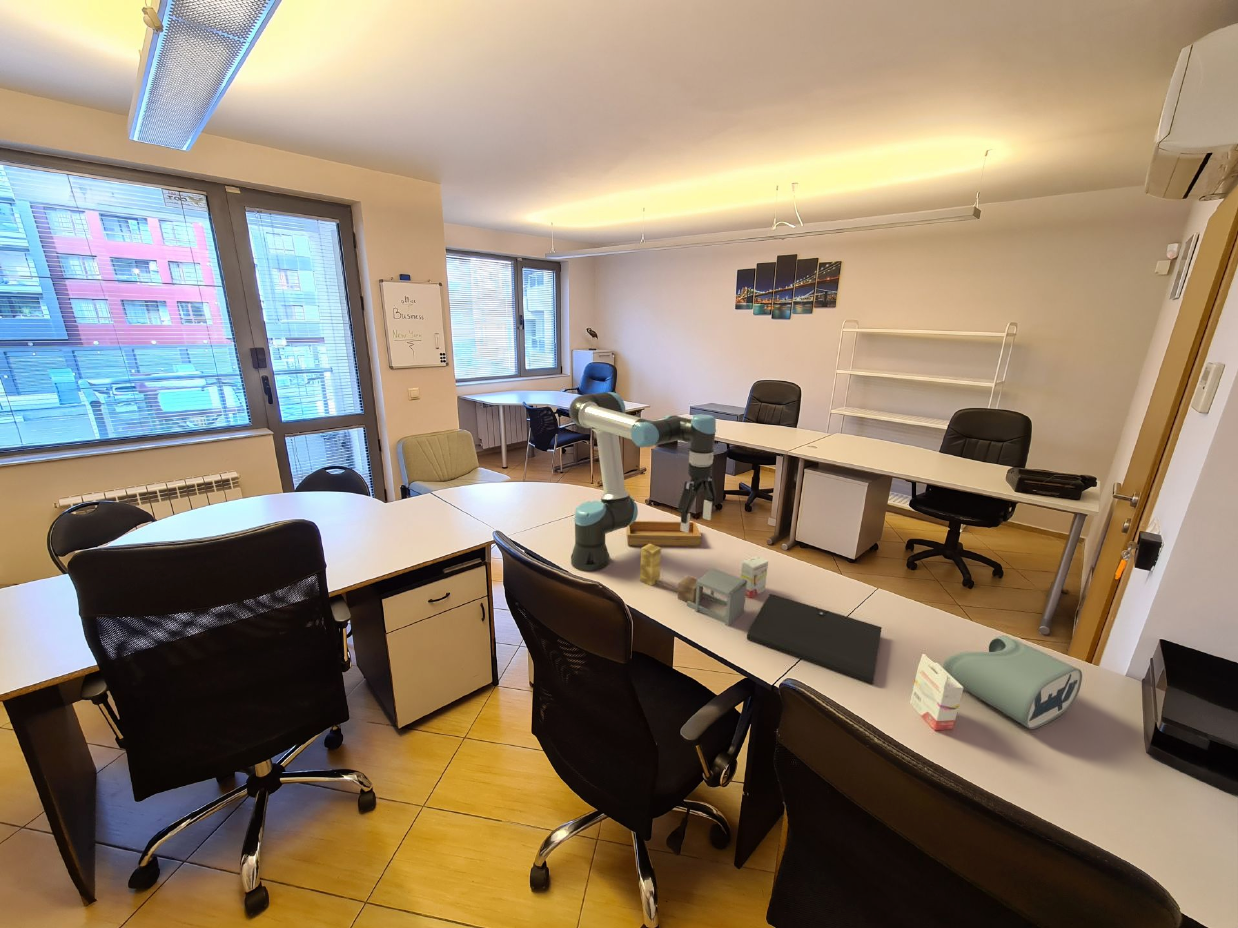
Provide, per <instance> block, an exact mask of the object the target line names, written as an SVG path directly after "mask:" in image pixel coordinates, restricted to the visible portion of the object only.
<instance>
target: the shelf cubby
mask: <svg viewBox="0 0 1238 928" xmlns="http://www.w3.org/2000/svg"><path fill="white" fill-rule="evenodd" d="M696 584H697V590H696V603H692V602H690V601H687V602H686V606H687V607H689V608H691V609H693V610H694V612H697V613H699V612H700V613H702V614H704V615H706V616H709V617H711V618H713V619H716V620H717V621H720V622H722V623H724V625H725V626H726V627H729V626H730V625H731V624H732V623H733V622H734V621H735V620H736V619H737V618H738V617H739V616H740V615H741V614H742V613H743V612H744V611H745V605H746V597H747V596H746V586H747V580H744V579H742V578H741V577H739V576H737V575H734V574H731V573H728V572H726V571H724V570H723V571H722V570H719V569H718V568H715V567H713V568H712V569H710V570H709V571H707V572H706V573H705V574H703V576H701V577H700V578H699V579H698V580H697V581H696ZM700 586H702V587H703V589H704V588H705V589H707V590H709V591H710V593H709V592H706V591H704V590H703V596H702V598H703V597H704V598H705V599H708V600H710V601H712V602H715V603H718V604H719V605H723V606H724V607H726V610H725V616H724V615H722V614H720V613H717V612H715V611H713V610H711V609H708V608H705V607H703V606H702V605H700V600H699V597H700ZM715 593H717V594H719V595H721V596H724V597H727V599H724V598H720V597H718V596H716V595H715Z"/></svg>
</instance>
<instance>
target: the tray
mask: <svg viewBox="0 0 1238 928" xmlns="http://www.w3.org/2000/svg"><path fill="white" fill-rule="evenodd" d="M680 529H681V521H669V520H668V521H666V520H665V521H662V520H660V521H659V520H658V521H656V520H650V521H649V520H635V521H634V523H633V524H631V525H629V526H627V527H626V539H627V546H628V547H629V546H636V547H638V546H640V547H641V546H642V547H644V546H646V545H648V544H652V545H655V546H658V547H696V548H698V547H699V548H701V543H702V535H701V532H700V530H699V527H698V525H697V523H696V522H695V521H690V522H689V532H688V533H686V532H683V531H681V530H680Z"/></svg>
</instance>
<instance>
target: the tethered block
mask: <svg viewBox="0 0 1238 928" xmlns="http://www.w3.org/2000/svg"><path fill="white" fill-rule="evenodd" d="M661 552H662V548H661V546H655V545H652V544H648V545H646V546H642V547H641V549H640V573H639V575H640V579H639V581H640V582H642V583H643V584H646V585H649V586H653V585H655V584H656V583H657V584H659V585H662V586H664V587H666V588H669V589H671V590H673V591H676V592H677V599H678V600H681V601H682V602H685V603H687V601H690V602H692V603H695V604H696V590H697V584H696V581H697V580H698V579H697V578H695V577H692V576H690V575H687V576H686V577H684V578H683V579H682V580H680V581H679V582H678V585H677V586H678V588H676V587H673V586H671V585H669V584H667V583H664V582H663V581H660V578H661V554H662V553H661ZM703 591H704V587H702V586H700V597H699V601H700V600H701V599H702V598H703Z"/></svg>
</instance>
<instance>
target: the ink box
mask: <svg viewBox="0 0 1238 928" xmlns="http://www.w3.org/2000/svg"><path fill="white" fill-rule="evenodd" d="M768 565H769V561H768V560H767V559H765V558H762V557H761V556H759V555H755V556H753V557H750V558H748V559H745V560H743V562H742V563H741V573H740V578H742V579H744V580H747V586H746V596H745V597H746V598H749V599H751V598H753V597H755V596H757V595H759V594H761V593H763V592H765V590H766V585H767V584H766V583H767V576H768V575H767V574H768V568H769V567H768Z"/></svg>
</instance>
